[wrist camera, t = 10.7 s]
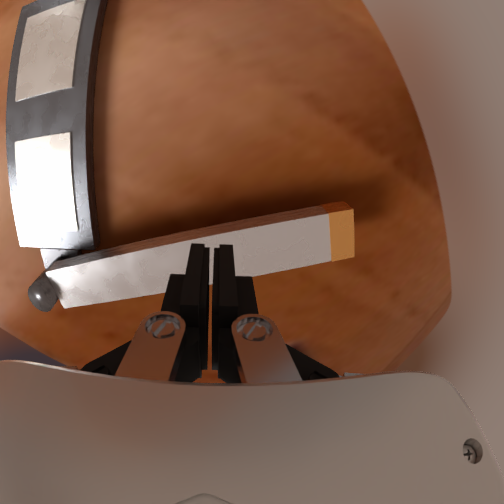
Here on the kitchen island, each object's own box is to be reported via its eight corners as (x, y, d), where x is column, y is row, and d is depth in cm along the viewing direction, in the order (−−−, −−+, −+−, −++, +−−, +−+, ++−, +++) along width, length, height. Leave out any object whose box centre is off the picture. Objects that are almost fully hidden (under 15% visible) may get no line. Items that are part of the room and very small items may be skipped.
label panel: (29, 9, 13) (21, 6, 11) (112, -17, 14) (105, -24, 12) (38, 282, 27) (31, 290, 25) (108, 290, 28) (103, 299, 26)
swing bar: (335, 194, 24) (358, 213, 20) (338, 237, 26) (358, 262, 21) (43, 258, 24) (20, 282, 20) (59, 290, 26) (40, 317, 22)
